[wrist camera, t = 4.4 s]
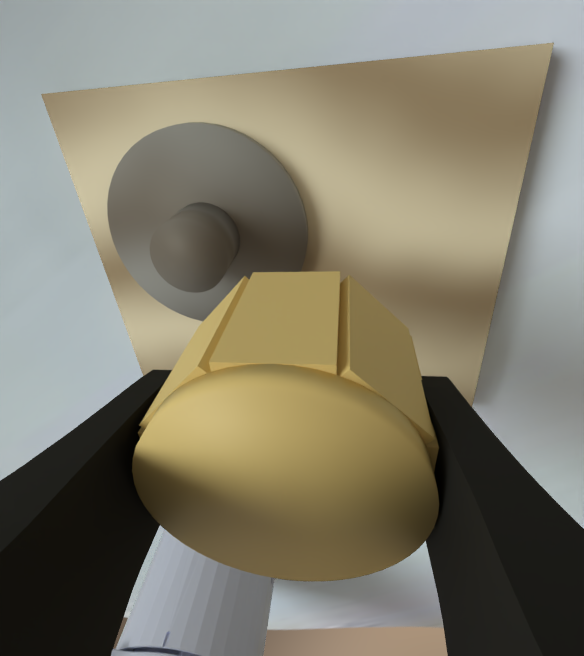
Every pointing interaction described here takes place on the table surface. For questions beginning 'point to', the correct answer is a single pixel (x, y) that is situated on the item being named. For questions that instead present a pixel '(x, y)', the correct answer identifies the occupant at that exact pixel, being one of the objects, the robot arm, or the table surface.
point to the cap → (293, 434)
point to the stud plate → (311, 190)
